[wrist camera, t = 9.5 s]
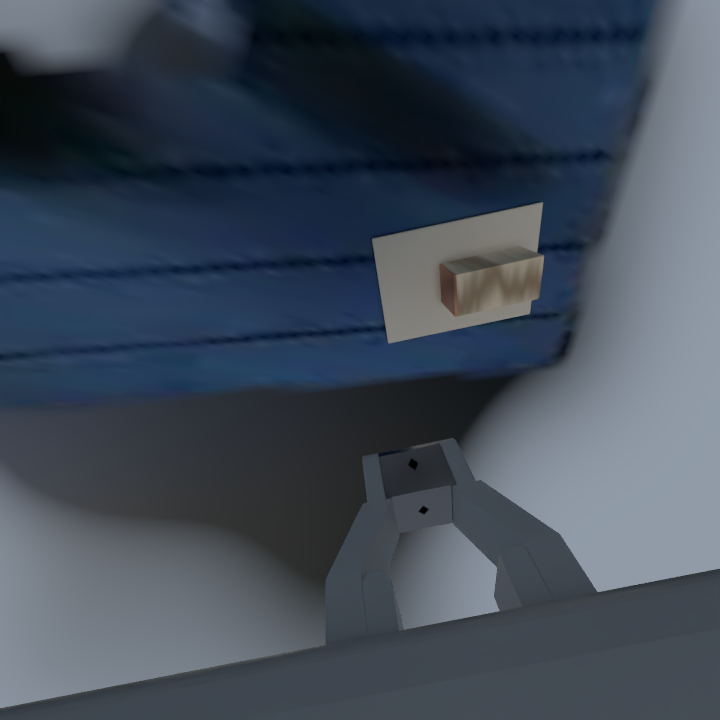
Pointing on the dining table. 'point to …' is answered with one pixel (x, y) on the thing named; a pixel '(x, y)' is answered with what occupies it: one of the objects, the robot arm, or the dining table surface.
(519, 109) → the dining table surface
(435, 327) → the sand mat
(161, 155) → the dining table surface
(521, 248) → the birch block
